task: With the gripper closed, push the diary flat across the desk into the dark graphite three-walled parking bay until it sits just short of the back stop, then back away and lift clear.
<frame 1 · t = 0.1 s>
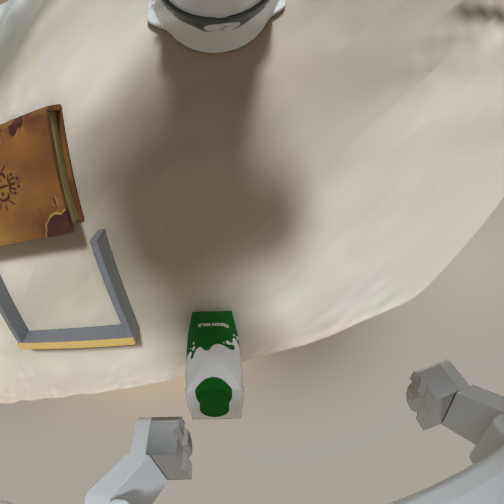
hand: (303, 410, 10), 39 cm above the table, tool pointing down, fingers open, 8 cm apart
milk carton: (212, 325, 57), on the table
bay: (55, 288, 50), on the table
diary: (18, 177, 40), on the table
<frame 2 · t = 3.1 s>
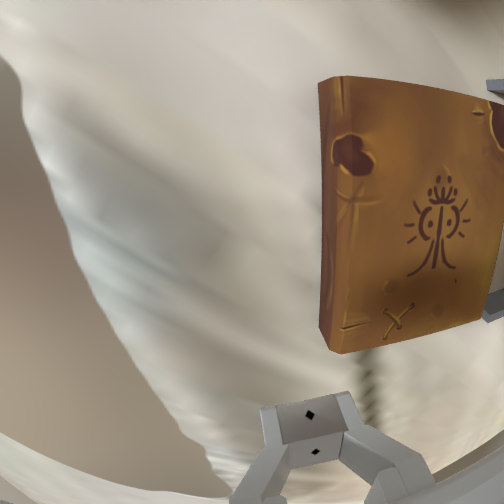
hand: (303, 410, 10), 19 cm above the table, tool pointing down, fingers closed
diary: (406, 208, 28), on the table
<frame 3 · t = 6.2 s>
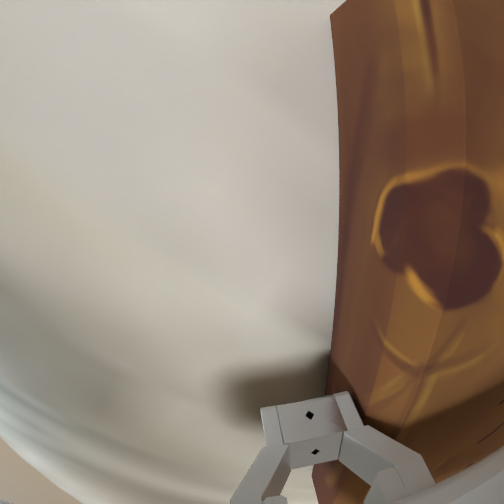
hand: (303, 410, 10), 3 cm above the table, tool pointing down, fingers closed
diary: (484, 295, 13), on the table, touching gripper
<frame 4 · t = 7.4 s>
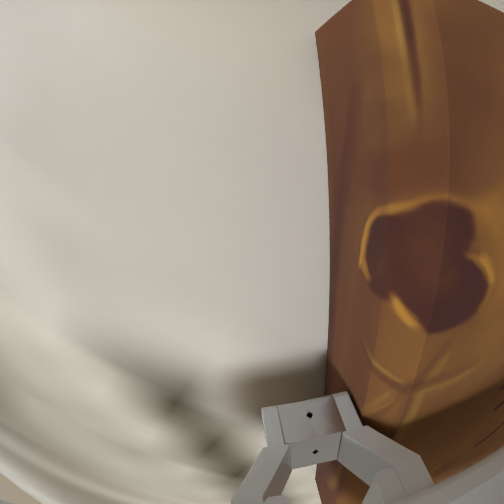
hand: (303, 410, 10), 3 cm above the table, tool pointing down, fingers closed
diary: (480, 299, 13), on the table, touching gripper
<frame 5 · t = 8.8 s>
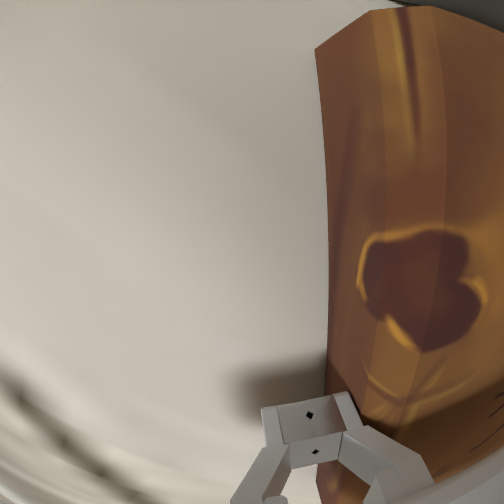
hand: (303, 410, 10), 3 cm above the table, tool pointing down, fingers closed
diary: (478, 307, 14), on the table, touching gripper
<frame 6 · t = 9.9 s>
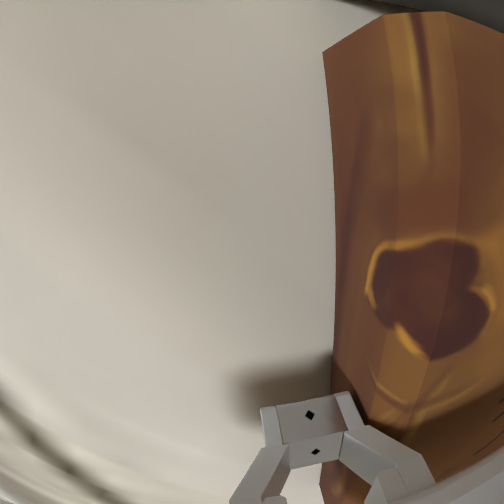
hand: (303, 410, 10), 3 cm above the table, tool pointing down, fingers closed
bay: (499, 303, 12), on the table
diary: (482, 310, 13), on the table
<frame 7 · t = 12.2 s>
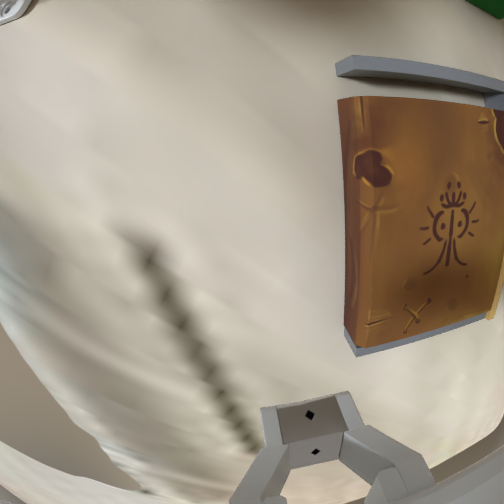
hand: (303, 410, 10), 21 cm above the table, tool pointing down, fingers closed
bay: (427, 205, 29), on the table
diary: (419, 211, 30), on the table
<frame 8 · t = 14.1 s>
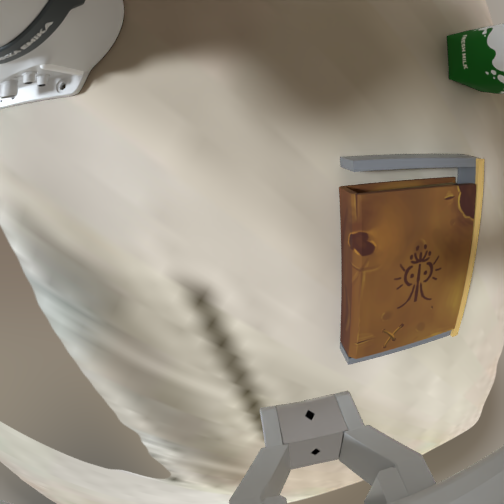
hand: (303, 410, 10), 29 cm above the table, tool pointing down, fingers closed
milk carton: (464, 64, 31), on the table
bay: (403, 255, 41), on the table
diary: (398, 258, 42), on the table
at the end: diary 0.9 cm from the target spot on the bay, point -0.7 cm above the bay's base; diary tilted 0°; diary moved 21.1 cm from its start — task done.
